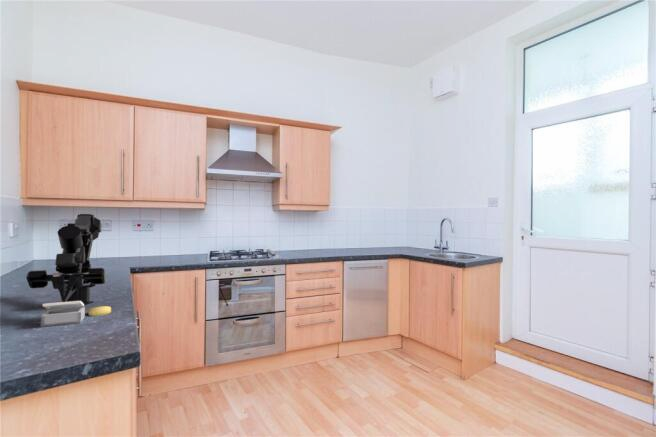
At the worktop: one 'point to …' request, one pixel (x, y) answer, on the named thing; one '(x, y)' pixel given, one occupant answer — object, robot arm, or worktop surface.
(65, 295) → the robot arm
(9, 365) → the worktop surface
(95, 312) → the yellow rounded disc
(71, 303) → the lid
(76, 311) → the grey frame
